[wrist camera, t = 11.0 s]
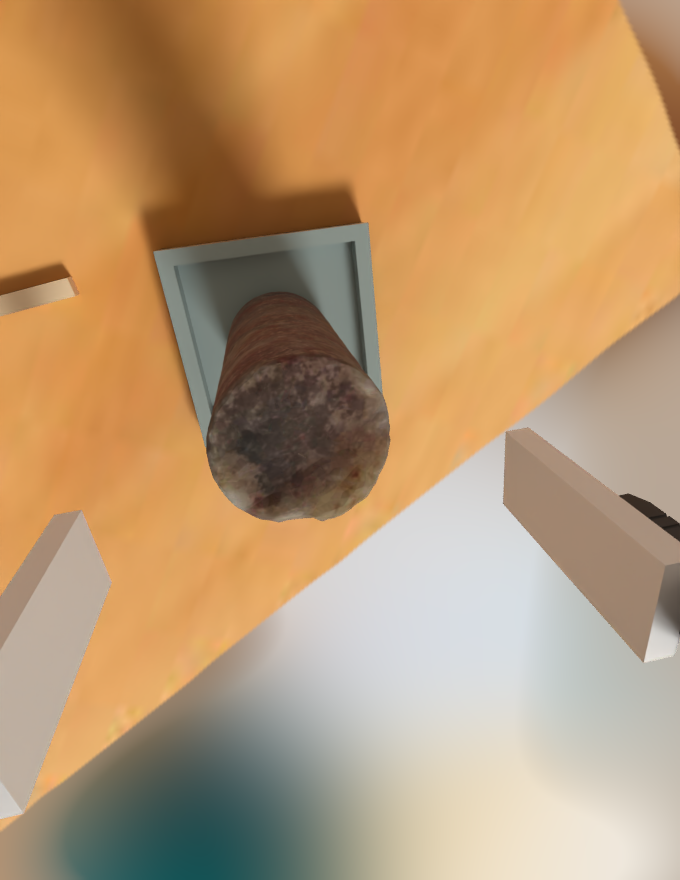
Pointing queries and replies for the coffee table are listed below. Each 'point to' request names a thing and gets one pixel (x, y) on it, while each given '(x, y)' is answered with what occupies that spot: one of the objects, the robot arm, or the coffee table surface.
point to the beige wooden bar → (37, 295)
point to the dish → (262, 271)
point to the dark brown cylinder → (294, 415)
